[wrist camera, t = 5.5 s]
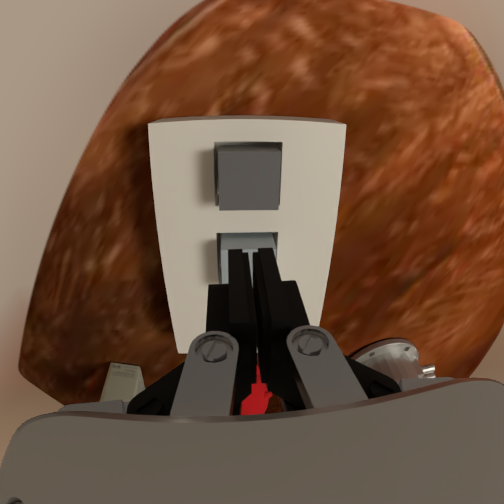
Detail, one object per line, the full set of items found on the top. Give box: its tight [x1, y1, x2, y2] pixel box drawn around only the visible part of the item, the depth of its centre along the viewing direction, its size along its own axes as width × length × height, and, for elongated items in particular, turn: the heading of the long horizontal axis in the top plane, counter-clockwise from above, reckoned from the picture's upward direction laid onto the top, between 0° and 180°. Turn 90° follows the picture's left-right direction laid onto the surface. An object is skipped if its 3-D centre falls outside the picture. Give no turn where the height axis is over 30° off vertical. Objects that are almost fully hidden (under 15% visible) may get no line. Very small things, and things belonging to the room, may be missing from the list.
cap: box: [241, 365, 272, 415], centre depth 36 cm, size 8×6×6 cm
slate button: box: [221, 232, 276, 287], centre depth 25 cm, size 4×4×3 cm
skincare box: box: [100, 362, 145, 402], centre depth 33 cm, size 6×4×12 cm
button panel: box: [148, 115, 346, 353], centre depth 27 cm, size 14×22×4 cm, turn 179°
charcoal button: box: [218, 145, 281, 211], centre depth 21 cm, size 4×4×3 cm
